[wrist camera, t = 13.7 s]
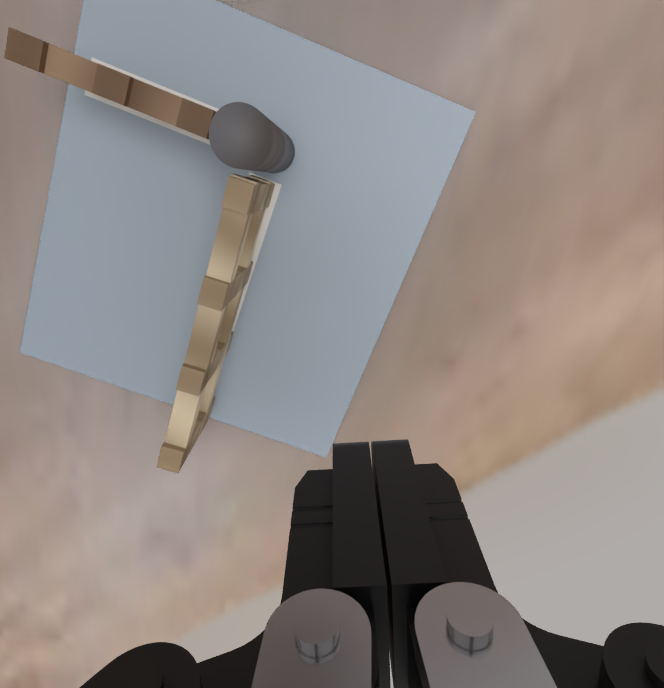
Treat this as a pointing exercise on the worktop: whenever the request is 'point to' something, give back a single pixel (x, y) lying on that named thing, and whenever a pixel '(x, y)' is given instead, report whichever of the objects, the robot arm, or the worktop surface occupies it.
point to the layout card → (205, 211)
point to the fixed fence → (165, 106)
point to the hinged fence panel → (215, 314)
